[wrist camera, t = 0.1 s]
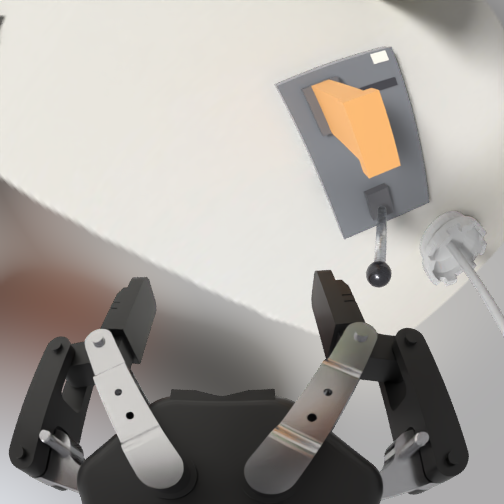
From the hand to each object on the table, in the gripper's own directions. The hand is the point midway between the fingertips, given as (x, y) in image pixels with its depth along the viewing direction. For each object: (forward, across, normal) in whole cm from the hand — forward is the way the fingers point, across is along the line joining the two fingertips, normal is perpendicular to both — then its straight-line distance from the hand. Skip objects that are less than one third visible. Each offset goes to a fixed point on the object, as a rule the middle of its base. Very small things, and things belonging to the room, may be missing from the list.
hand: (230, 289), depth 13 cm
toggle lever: (+20, -18, +4) cm, 27 cm away
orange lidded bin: (+19, -10, -8) cm, 23 cm away
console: (+22, -16, -3) cm, 27 cm away
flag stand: (+24, -35, +12) cm, 44 cm away
